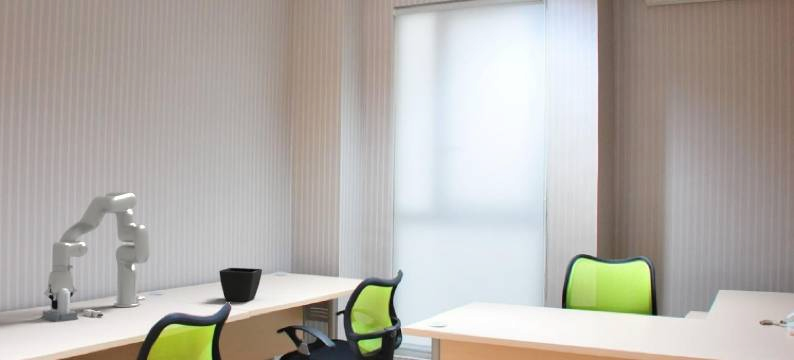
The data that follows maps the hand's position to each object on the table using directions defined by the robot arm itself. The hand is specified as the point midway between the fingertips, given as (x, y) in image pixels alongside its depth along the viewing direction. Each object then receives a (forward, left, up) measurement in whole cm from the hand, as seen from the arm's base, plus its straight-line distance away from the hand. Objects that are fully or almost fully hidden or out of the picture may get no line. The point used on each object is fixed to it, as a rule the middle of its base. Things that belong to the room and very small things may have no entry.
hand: (60, 307), depth 336 cm
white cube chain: (-14, +4, -5) cm, 15 cm away
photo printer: (0, 0, -3) cm, 3 cm away
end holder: (0, 0, -5) cm, 5 cm away
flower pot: (-95, +12, -5) cm, 96 cm away
